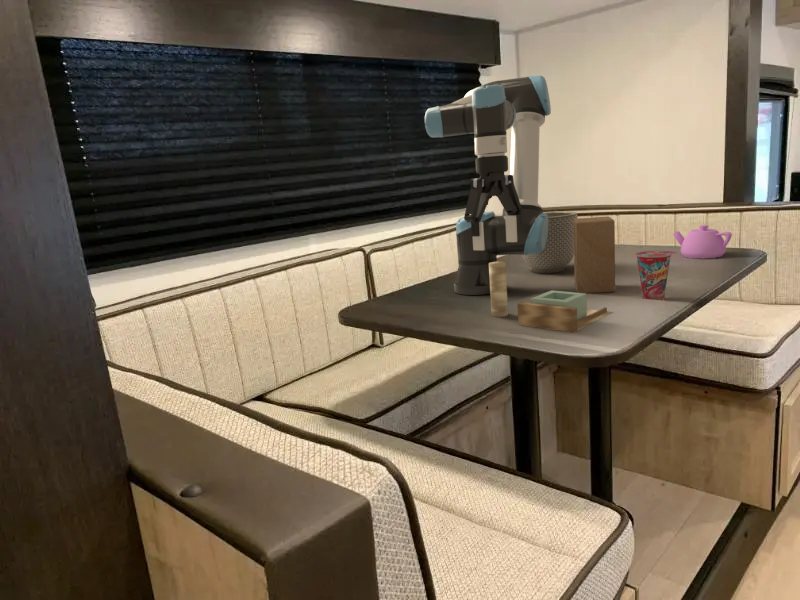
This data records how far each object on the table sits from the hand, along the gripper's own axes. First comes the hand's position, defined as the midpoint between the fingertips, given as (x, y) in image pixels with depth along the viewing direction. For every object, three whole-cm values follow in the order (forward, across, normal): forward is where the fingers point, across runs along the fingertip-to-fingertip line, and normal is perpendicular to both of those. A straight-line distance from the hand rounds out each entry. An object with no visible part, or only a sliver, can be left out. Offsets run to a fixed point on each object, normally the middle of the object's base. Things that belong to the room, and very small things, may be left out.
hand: (495, 246), depth 143 cm
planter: (+18, +59, +21) cm, 66 cm away
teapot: (+18, +98, -15) cm, 101 cm away
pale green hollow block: (+17, +1, -16) cm, 23 cm away
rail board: (+18, +4, -16) cm, 24 cm away
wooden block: (+18, +38, -6) cm, 43 cm away
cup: (+18, +33, -25) cm, 45 cm away
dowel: (+18, 0, 0) cm, 18 cm away
